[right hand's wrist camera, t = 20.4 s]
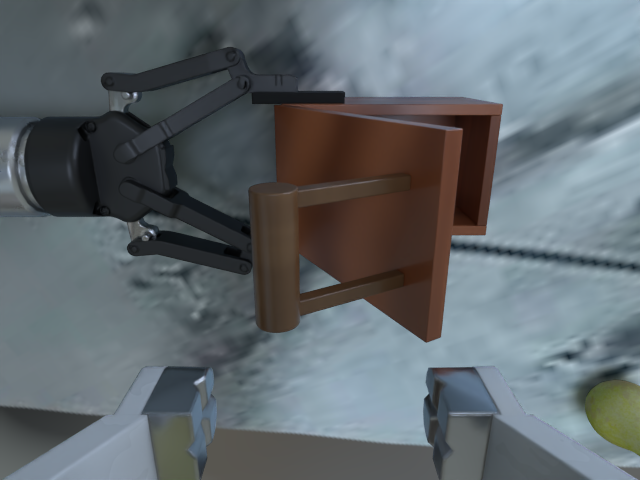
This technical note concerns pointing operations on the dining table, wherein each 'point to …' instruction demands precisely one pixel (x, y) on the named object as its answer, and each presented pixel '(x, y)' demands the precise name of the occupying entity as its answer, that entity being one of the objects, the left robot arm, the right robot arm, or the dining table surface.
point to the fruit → (616, 413)
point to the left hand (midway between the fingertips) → (342, 167)
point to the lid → (355, 217)
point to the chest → (476, 143)
